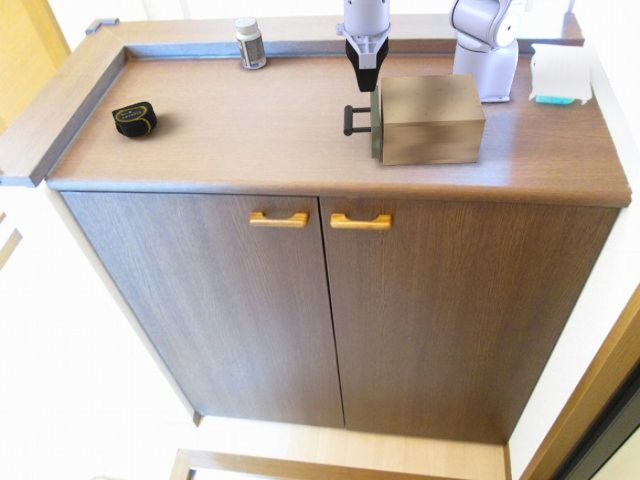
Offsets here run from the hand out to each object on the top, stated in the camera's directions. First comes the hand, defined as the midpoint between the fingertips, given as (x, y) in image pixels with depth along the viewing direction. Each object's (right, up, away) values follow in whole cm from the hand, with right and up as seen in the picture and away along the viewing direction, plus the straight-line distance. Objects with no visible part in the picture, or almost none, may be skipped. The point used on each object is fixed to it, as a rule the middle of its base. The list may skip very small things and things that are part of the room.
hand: (367, 89), depth 66 cm
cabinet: (+10, -6, +6) cm, 13 cm away
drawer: (+5, -5, +6) cm, 10 cm away
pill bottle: (-20, +13, +26) cm, 35 cm away
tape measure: (-39, -2, +15) cm, 42 cm away
